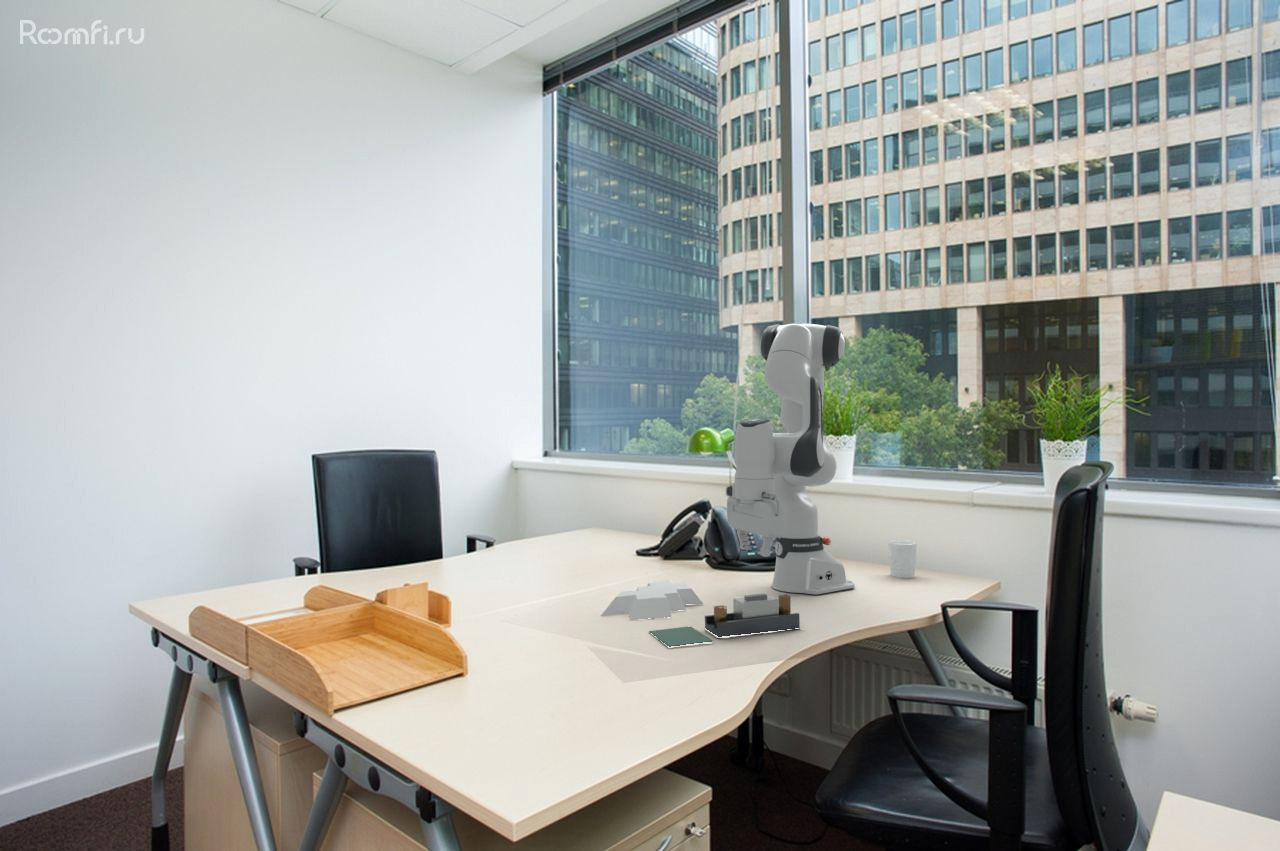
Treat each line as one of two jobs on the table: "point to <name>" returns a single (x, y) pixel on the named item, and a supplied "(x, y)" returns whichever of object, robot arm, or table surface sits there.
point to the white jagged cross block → (653, 600)
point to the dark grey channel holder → (752, 621)
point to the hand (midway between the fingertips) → (754, 552)
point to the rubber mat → (680, 636)
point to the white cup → (902, 558)
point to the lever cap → (755, 606)
